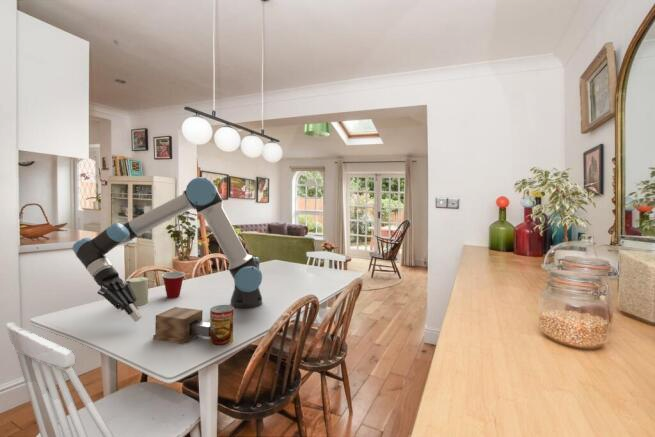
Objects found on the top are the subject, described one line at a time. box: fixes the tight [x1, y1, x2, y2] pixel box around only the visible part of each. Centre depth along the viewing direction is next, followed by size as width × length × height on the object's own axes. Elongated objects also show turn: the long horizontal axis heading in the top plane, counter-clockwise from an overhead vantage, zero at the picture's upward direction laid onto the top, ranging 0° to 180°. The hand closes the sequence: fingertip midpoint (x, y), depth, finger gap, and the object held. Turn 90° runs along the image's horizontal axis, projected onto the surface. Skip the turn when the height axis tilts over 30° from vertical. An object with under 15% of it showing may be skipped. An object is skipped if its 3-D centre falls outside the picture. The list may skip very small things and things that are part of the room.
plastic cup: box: [161, 271, 186, 299], centre depth 164 cm, size 11×11×12 cm
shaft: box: [189, 321, 210, 338], centre depth 116 cm, size 21×5×5 cm, turn 76°
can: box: [125, 277, 149, 307], centre depth 152 cm, size 9×9×12 cm
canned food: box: [209, 304, 235, 347], centre depth 112 cm, size 8×8×12 cm
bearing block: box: [152, 306, 203, 345], centre depth 117 cm, size 13×11×8 cm
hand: (138, 319), depth 121 cm, fingers closed
